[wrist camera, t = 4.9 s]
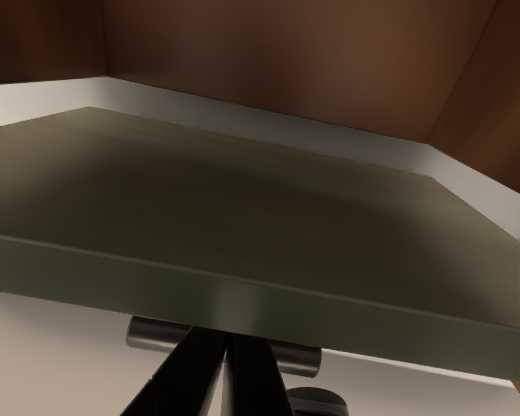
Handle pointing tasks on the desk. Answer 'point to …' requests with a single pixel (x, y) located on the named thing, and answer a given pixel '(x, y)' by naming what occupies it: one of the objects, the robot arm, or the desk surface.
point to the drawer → (271, 176)
